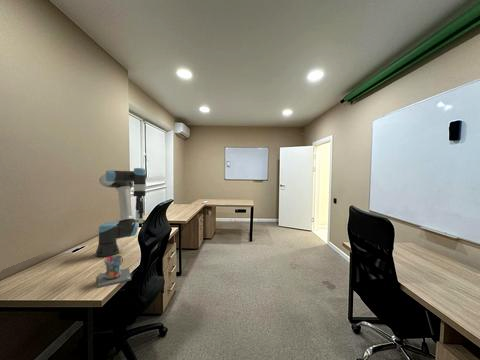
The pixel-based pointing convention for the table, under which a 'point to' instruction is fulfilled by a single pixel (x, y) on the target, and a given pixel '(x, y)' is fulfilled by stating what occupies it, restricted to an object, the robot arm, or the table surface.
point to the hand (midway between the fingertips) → (139, 221)
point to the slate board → (122, 278)
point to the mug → (113, 266)
